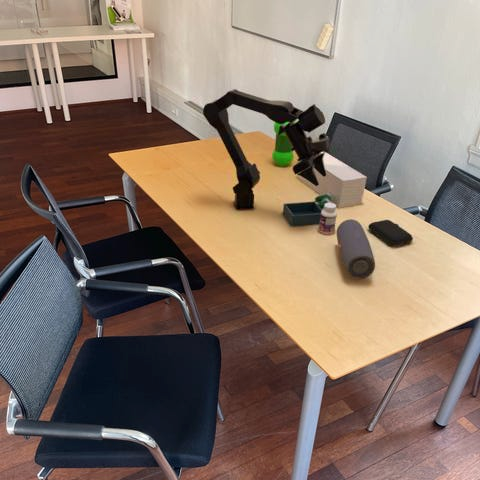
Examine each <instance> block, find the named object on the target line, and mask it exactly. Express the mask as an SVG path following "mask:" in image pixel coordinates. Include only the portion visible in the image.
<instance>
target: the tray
mask: <svg viewBox="0 0 480 480" xmlns="http://www.w3.org/2000/svg"><path fill="white" fill-rule="evenodd" d="M282 208H283V209H282V215H283V216H284V218H285V219H286V221H287V222H288V224H289V226H290V227H300V226H311V225H319V223H320V217H321V211H322V210H323V208H322V209H321V208H320V207H319V206H318V203H317V201H316V200H315V201H302V202H290V203H289V202H288V203H283V207H282Z"/></svg>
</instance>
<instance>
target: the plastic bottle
mask: <svg viewBox="0 0 480 480" xmlns="http://www.w3.org/2000/svg"><path fill="white" fill-rule="evenodd" d="M293 122H294V123H295V122H297V120H295V121H293ZM288 123H289V122H286V123H284V124H278V123H276V122H274V121H273V131H274V133H275V139H274V140H275V141H274V149H273V150H272V152H271V153H272V160H273V162H274V163H275V165H276V166H280V167H287V166H288V165H289V164H290V163H292V162H293V160H294V151H292V150H291V148H292V145H291V143H290V142H289V140H288V138H287V136H286V134H285V133H284V132H283V133H282V134H280V135H278V132H279V126H281V125H286V124H288Z"/></svg>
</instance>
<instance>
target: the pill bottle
mask: <svg viewBox="0 0 480 480" xmlns="http://www.w3.org/2000/svg"><path fill="white" fill-rule="evenodd" d="M336 209H337V206H336V205H335V204H334V203H325V205H324V208H322V211H321V217H320V223H319V224H318V231H319V233H321V234H323V235H332V234H333V233H334V232H335V227H336V223H337V216H338V212H337V210H336Z"/></svg>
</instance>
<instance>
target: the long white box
mask: <svg viewBox="0 0 480 480" xmlns="http://www.w3.org/2000/svg"><path fill="white" fill-rule="evenodd" d="M324 152H325V154H324V157H323V162H324V167H325V171H326V176H325V177H323V176H322V175H321V174H320V173H319V172H318V171H317V170H316V169H315V168H314V169H313V170H314V173H315V175H316V178H317V180H318V183H319V185H318V186H315V185H314V184H312V183H311V182H309V181H308V180H306V179H305V178H303V177H301V176H300V175H296V178H297V179H298V180H300V181H301V182H302V183H304V184H305V185H306V186H307V187H310V188H311V189H312V190H314V191H315V192H316V193H317V194H319V196H321V195H326V194H327V193H329V194H330V195H331V203H334V204H335V205H336V208H339V209H340V208H346V207H351V206H357V205H362V202H363V199H364V194H365V188H366V184H367V179H368V177H367V176H366V175H365V174H363V173H361V172H360V171H358V170H356V169H354V168H352V167H351V166H349V165H347V164H345V163H344V162H343V161H341V160H339V159H337V158H336V157H334V156H332V155H331V154H329V153H328V152H326V151H324ZM321 153H323V152H321Z"/></svg>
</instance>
